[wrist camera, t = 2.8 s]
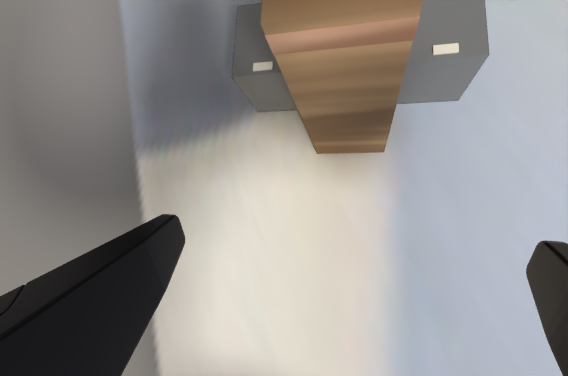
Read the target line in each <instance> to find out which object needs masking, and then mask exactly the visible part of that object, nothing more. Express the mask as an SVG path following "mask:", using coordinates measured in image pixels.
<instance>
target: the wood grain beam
mask: <svg viewBox="0 0 568 376" xmlns="http://www.w3.org/2000/svg"><path fill="white" fill-rule="evenodd" d="M422 4H423V0H262V11H261V26H262V28H263V31H264V33H265V37H266V40H267V42H268V44H269V47H270V49H271V51H272V53H273V55H274V56H275V58H276V61H277V63H278V65H279V67H280V70H281V72H282V74H283V77H284V79H285V81H286V83H287V86H288V88H289V90H290V93H291V95H292V97H293V99H294V102H295V104H296V106H297V109H298V111H299V113H300V116H301V118H302V120H303V122H304V125H305V127H306V129H307V132H308V134H309V136H310V138H311V141H312V143H313V145H314V148H315V150H316V152H317V154H321V153H366V152H384V150H385V146H386V142H387V138H388V134H389V131H390V127H391V123H392V119H393V115H394V111H395V108H396V104H397V100H398V96H399V92H400V88H401V85H402V81H403V77H404V73H405V69H406V65H407V61H408V58H409V54H410V50H411V46H412V42H413V40H414V38H415V34H416V30H417V27H418V23H419V19H420V12H421V8H422Z"/></svg>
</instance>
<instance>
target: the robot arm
mask: <svg viewBox="0 0 568 376" xmlns="http://www.w3.org/2000/svg"><path fill="white" fill-rule="evenodd" d="M184 244H185V235H184V232H183V229H182V226H181V223H180V220H179V218H178V217H177V216H176V215H170V214H163V215H160V216H158V217H156V218H154V219H152V220H150V221H148V222H146V223H144V224H142V225H140V226H138V227H136V228H134V229H133V230H131V231H129V232H127V233H125V234H123V235H121V236H119V237H117V238H115V239H113V240H111V241H109V242H107V243H105V244H103V245H101V246H99V247H97V248H95V249H93V250H91V251H89V252H87V253H85V254H83V255H81V256H79V257H77V258H75V259H74V260H71V261H69V262H67V263H66V264H63V265H62V266H60V267H58V268H56V269H54V270H52V271H50V272H48V273H46V274H44V275H42V276H40V277H38V278H36V279H34V280H32V281H30V282H28V283H27V284H26V285H22V286H20V287H18V288H16V289H14V290H12V291H10V292H8V293H6V294H4V295H2V296H0V376H121V375H122V373H123V371H124V369H125V367H126V365H127V363H128V362H129V360H130V358H131V356H132V354H133V352H134V350H135V348H136V347H137V345H138V343H139V341H140V339H141V337H142V335H143V333H144V331H145V329H146V328H147V326H148V324H149V322H150V320H151V318H152V316H153V314H154V312H155V311H156V309H157V307H158V305H159V303H160V301H161V299H162V297H163V295H164V293H165V291H166V289H167V287H168V284H169V282H170V279H171V277H172V274H173V272H174V269H175V267H176V265H177V262H178V260H179V257H180V255H181V252H182V250H183V247H184ZM526 274H527V279H528V282H529V285H530V288H531V291H532V294H533V298H534V301H535V304H536V307H537V310H538V313H539V316H540V319H541V323H542V326H543V329H544V332H545V335H546V337H547V340H548V343H549V345H550V347H551V350H552V352H553V354H554V357H555V359H556V361H557V363H558V366H559V368H560V370H561V372H562V374H563V376H568V244H567V243H564V242H558V241H541V242H539V243H538V245H537V246H536V248H535V250H534V252H533V255H532V257H531V259H530V261H529V263H528V265H527V269H526Z"/></svg>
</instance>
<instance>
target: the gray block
mask: <svg viewBox="0 0 568 376" xmlns="http://www.w3.org/2000/svg"><path fill="white" fill-rule="evenodd" d="M261 11H262V3H258V4H251V5H244V6H238V11H237V22H236V34H235V45H234V56H233V67H232V78H233V80H234V81H235V83H236V84H237V85H238V87H239V88H240V89H241V91H242V92H243V93H244V95H245V96H246V97H247V99H248V100H249V101H250V103H251V104H252V105H253V107H254V108H255V110H256V111H257V112H268V111H285V110H298V109H297V106H296V104H295V102H294V99H293V97H292V95H291V93H290V90H289V88H288V86H287V83H286V81H285V79H284V77H283V74H282V72H281V70H280V67H279V65H278V63H277V61H276V58H275V56H274V55H273V53H272V51H271V49H270V47H269V44H268V42H267V40H266V37H265V33H264V31H263V28H262V26H261ZM488 56H489V44H488V32H487V20H486V8H485V0H423V4H422V8H421V12H420V19H419V23H418V27H417V30H416V34H415V38H414V40H413V42H412V46H411V50H410V54H409V58H408V61H407V65H406V69H405V73H404V77H403V81H402V85H401V88H400V92H399V96H398V100H397V104H406V103H423V102H440V101H457V100H459V99H460V97H461V96H462V94H463V93H464V91H465V90H466V88H467V87H468V85H469V84H470V82H471V81H472V79H473V78H474V76H475V75H476V73H477V72H478V71H479V69H480V68H481V66H482V65H483V63H484V62H485V60H486V59H487V57H488Z"/></svg>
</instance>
